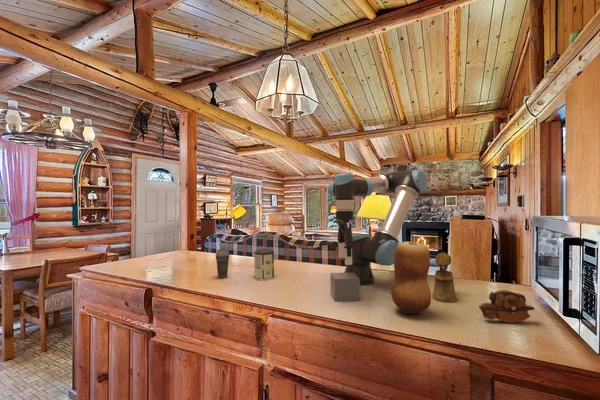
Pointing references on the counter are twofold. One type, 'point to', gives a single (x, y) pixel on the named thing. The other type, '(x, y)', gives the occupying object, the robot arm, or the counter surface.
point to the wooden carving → (506, 307)
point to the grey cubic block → (345, 286)
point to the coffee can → (264, 264)
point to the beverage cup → (222, 262)
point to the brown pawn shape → (444, 280)
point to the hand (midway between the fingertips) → (345, 261)
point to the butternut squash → (411, 277)
